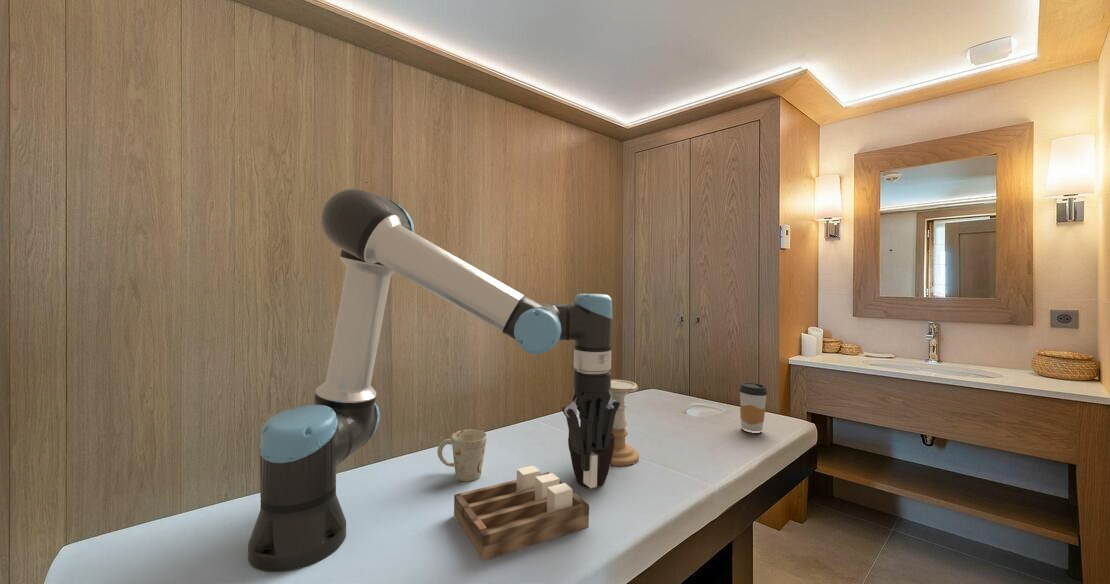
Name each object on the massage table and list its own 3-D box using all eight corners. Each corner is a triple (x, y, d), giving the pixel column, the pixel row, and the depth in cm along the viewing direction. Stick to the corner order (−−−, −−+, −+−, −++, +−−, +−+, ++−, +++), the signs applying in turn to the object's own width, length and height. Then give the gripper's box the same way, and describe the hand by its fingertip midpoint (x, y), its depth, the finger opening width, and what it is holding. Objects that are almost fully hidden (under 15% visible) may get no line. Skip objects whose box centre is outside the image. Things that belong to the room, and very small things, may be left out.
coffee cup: (767, 429, 145) (769, 384, 145) (763, 437, 138) (765, 390, 138) (740, 424, 150) (741, 381, 149) (735, 431, 143) (737, 385, 142)
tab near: (554, 519, 84) (555, 494, 84) (546, 512, 87) (547, 487, 86) (571, 514, 86) (572, 489, 86) (563, 507, 89) (564, 482, 88)
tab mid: (541, 507, 88) (542, 483, 88) (534, 500, 91) (535, 476, 91) (558, 502, 90) (559, 478, 90) (551, 496, 93) (552, 472, 93)
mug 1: (478, 485, 102) (479, 443, 101) (428, 479, 104) (428, 438, 104) (490, 470, 110) (491, 431, 110) (443, 464, 112) (444, 426, 112)
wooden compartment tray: (483, 561, 75) (483, 534, 75) (453, 515, 89) (454, 493, 89) (588, 526, 86) (589, 503, 86) (548, 491, 100) (548, 470, 100)
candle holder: (590, 463, 116) (592, 387, 115) (597, 445, 128) (599, 377, 127) (637, 469, 113) (640, 391, 112) (640, 450, 125) (642, 380, 124)
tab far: (522, 498, 92) (523, 474, 92) (516, 492, 94) (516, 469, 94) (539, 493, 94) (540, 470, 94) (532, 487, 96) (533, 465, 96)
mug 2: (583, 496, 98) (584, 443, 98) (554, 471, 110) (555, 424, 110) (619, 487, 103) (620, 436, 102) (587, 464, 115) (588, 418, 115)
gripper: (575, 377, 82) (573, 500, 83) (629, 370, 89) (626, 485, 90) (555, 369, 89) (553, 484, 90) (606, 363, 95) (604, 470, 96)
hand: (590, 484), depth 90 cm, fingers closed
